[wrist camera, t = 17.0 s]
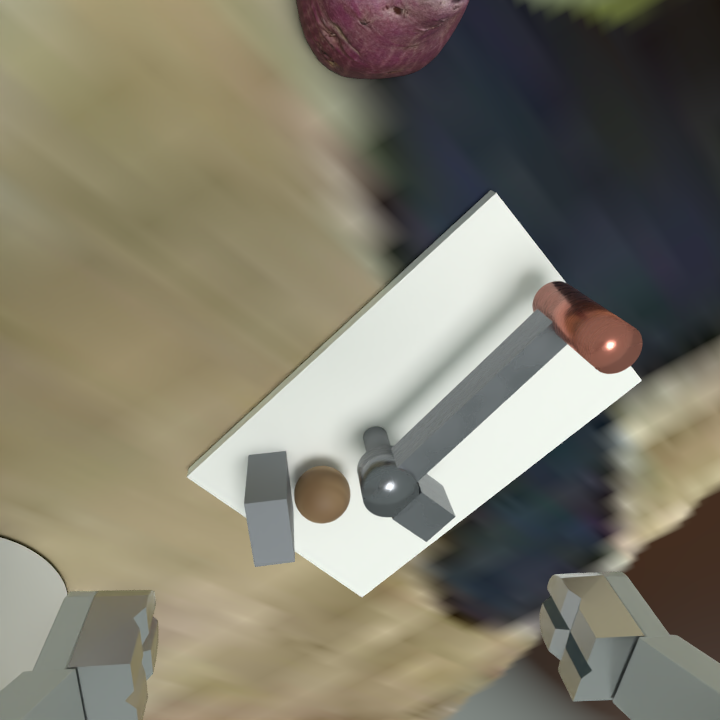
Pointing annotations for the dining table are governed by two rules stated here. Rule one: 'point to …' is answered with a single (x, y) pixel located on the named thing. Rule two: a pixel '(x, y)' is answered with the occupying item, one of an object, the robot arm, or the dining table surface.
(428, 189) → the dining table surface
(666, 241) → the dining table surface
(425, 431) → the lever
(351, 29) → the vegetable
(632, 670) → the robot arm
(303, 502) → the brown ball
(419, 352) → the board
